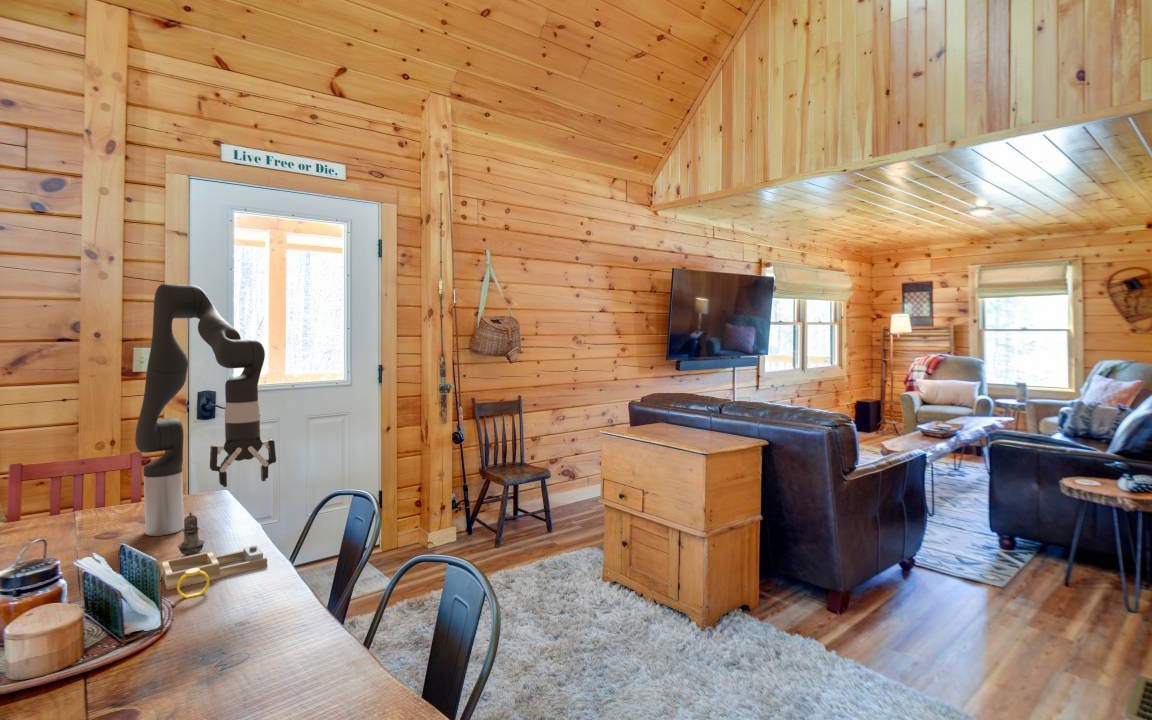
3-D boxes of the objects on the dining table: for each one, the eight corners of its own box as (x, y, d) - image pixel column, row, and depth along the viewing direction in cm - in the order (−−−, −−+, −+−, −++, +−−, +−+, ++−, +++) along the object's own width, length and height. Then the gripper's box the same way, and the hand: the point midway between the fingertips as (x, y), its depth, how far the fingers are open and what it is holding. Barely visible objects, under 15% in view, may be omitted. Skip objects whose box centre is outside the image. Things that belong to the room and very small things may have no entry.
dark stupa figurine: (191, 562, 147) (190, 516, 146) (172, 560, 148) (171, 515, 148) (210, 553, 153) (209, 509, 152) (191, 552, 154) (190, 508, 153)
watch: (179, 603, 126) (175, 577, 126) (178, 598, 128) (175, 572, 128) (211, 593, 130) (208, 568, 129) (209, 589, 132) (206, 564, 132)
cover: (243, 559, 149) (243, 544, 149) (256, 556, 151) (256, 542, 151) (250, 567, 144) (249, 552, 144) (263, 564, 146) (262, 549, 146)
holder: (161, 575, 139) (161, 561, 139) (257, 554, 153) (257, 541, 153) (167, 590, 131) (166, 575, 131) (267, 566, 145) (267, 552, 145)
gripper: (270, 415, 151) (272, 476, 152) (206, 420, 142) (208, 485, 142) (277, 418, 145) (278, 481, 146) (211, 424, 136) (213, 491, 137)
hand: (244, 483), depth 144 cm, fingers open, 8 cm apart
